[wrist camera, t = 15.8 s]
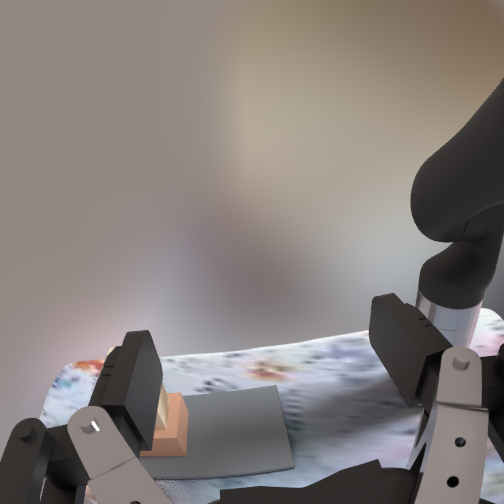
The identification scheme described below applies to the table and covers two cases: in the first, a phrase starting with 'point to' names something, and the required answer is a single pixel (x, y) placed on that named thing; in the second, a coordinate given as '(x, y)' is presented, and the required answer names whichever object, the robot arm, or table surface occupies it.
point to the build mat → (229, 437)
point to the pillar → (159, 407)
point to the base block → (171, 430)
